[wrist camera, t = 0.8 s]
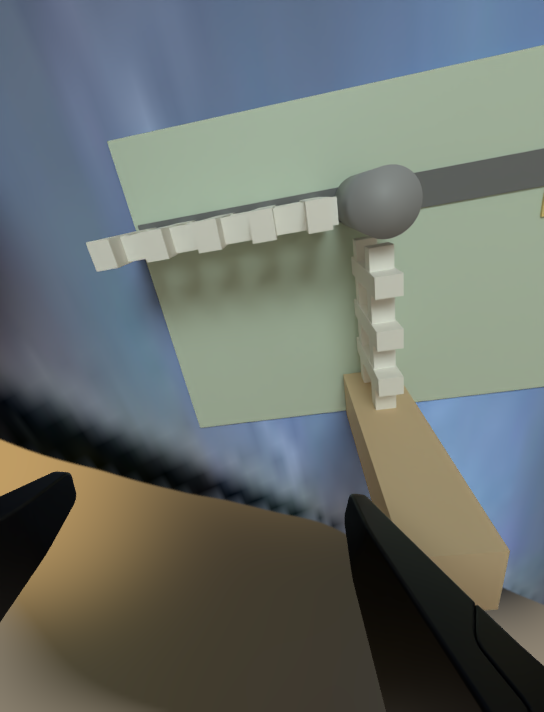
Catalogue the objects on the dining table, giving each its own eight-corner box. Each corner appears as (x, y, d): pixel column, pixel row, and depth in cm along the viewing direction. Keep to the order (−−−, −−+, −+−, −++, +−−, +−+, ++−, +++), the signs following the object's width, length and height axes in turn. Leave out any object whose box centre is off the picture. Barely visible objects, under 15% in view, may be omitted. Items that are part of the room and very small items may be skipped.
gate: (331, 241, 17) (404, 309, 7) (390, 230, 17) (565, 285, 6) (346, 414, 22) (404, 614, 11) (393, 408, 21) (497, 609, 11)
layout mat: (201, 425, 23) (200, 428, 23) (109, 141, 16) (105, 140, 16) (590, 378, 20) (594, 381, 20) (690, 14, 13) (699, 9, 13)
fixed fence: (146, 264, 18) (95, 288, 13) (131, 218, 17) (69, 226, 12) (381, 222, 17) (421, 233, 12) (380, 170, 16) (423, 157, 11)
